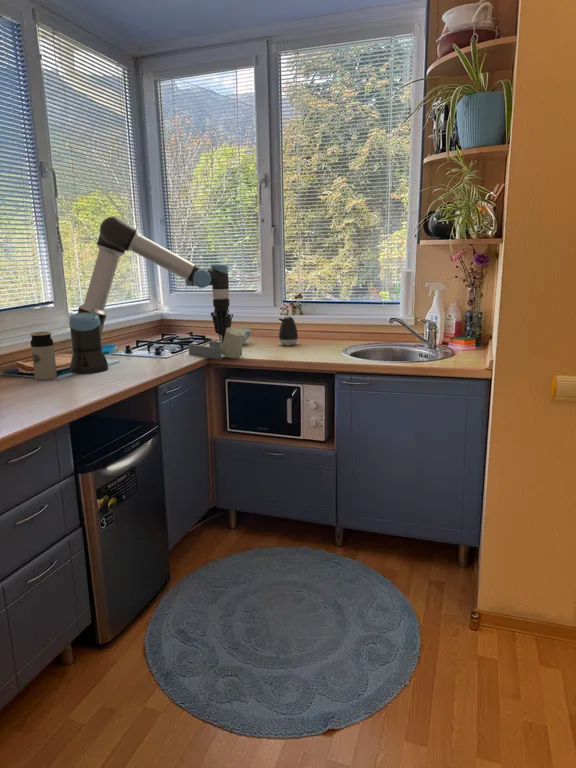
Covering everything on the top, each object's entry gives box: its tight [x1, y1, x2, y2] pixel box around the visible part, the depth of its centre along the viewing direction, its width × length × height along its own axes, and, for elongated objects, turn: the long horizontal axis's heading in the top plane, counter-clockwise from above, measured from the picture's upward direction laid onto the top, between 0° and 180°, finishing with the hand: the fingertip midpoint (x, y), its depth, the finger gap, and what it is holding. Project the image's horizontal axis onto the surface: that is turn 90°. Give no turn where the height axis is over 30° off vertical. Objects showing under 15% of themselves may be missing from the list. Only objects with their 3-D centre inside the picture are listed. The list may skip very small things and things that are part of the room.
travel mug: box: [30, 331, 58, 382], centre depth 209 cm, size 8×8×18 cm
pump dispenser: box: [278, 315, 299, 347], centre depth 281 cm, size 10×10×15 cm
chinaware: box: [237, 327, 252, 345], centre depth 285 cm, size 15×15×8 cm
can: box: [221, 326, 245, 359], centre depth 248 cm, size 9×9×12 cm
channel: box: [188, 340, 243, 361], centre depth 256 cm, size 14×22×5 cm, turn 49°
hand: (223, 348), depth 253 cm, fingers closed
